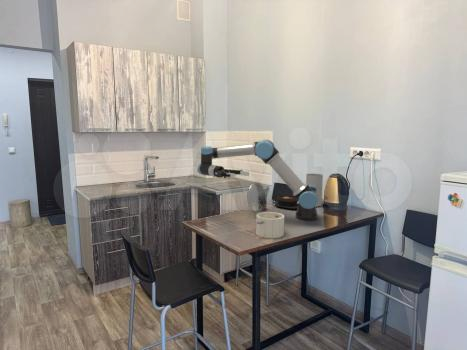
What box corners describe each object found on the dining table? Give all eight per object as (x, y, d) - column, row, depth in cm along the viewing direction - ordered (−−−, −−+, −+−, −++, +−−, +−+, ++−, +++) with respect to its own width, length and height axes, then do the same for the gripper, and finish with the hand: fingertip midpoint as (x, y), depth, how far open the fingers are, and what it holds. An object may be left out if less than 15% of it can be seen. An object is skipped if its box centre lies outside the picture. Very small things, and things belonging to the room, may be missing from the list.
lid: (250, 215, 195) (248, 215, 196) (267, 209, 208) (265, 209, 209) (246, 185, 195) (244, 185, 196) (263, 181, 208) (261, 181, 209)
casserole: (307, 208, 258) (308, 198, 257) (290, 212, 247) (290, 201, 246) (284, 202, 278) (285, 192, 277) (267, 205, 268) (268, 195, 266)
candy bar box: (261, 208, 257) (261, 187, 254) (266, 209, 253) (267, 188, 251) (252, 211, 248) (252, 189, 246) (257, 212, 245) (257, 190, 243)
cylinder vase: (322, 204, 270) (323, 174, 267) (320, 208, 259) (321, 176, 255) (306, 203, 275) (307, 173, 271) (303, 206, 263) (305, 175, 260)
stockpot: (245, 234, 195) (245, 216, 194) (268, 226, 213) (268, 209, 211) (269, 241, 184) (270, 222, 183) (292, 231, 202) (292, 214, 200)
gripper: (229, 175, 231) (253, 178, 218) (203, 179, 213) (228, 183, 199) (229, 164, 230) (254, 167, 216) (203, 167, 211) (228, 170, 198)
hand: (241, 175), depth 208 cm, fingers open, 13 cm apart
